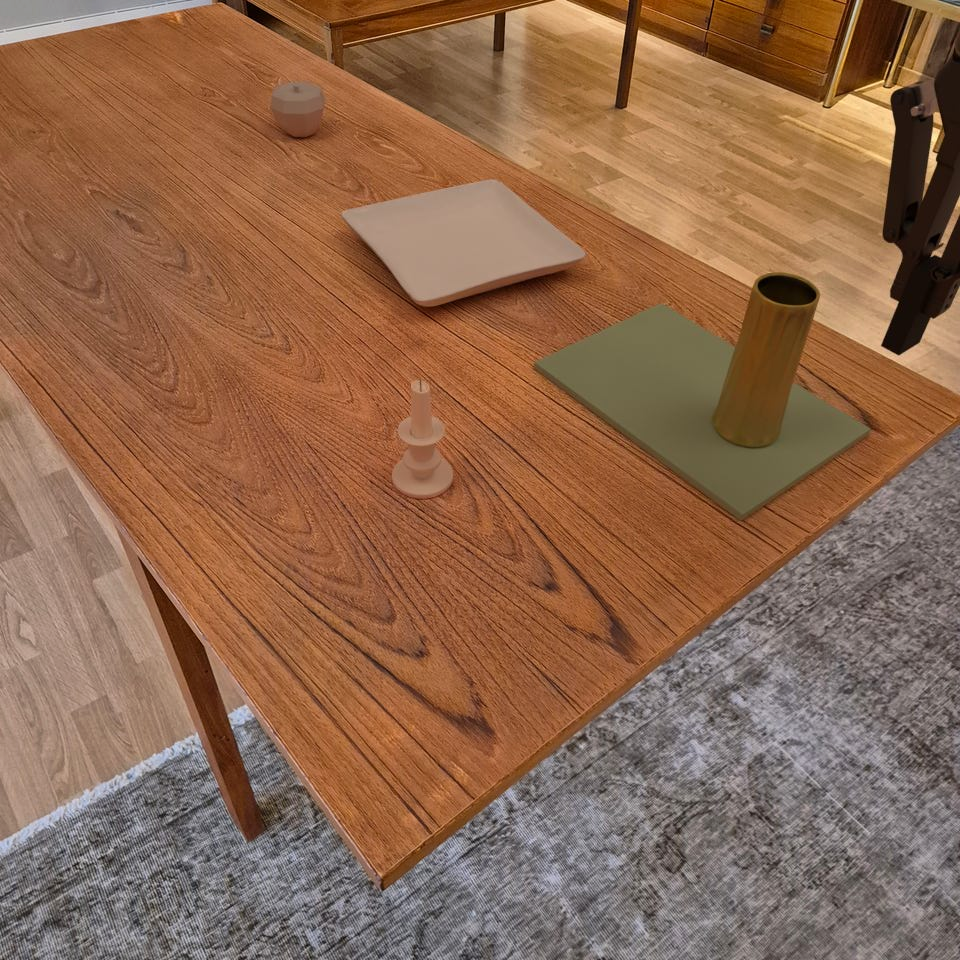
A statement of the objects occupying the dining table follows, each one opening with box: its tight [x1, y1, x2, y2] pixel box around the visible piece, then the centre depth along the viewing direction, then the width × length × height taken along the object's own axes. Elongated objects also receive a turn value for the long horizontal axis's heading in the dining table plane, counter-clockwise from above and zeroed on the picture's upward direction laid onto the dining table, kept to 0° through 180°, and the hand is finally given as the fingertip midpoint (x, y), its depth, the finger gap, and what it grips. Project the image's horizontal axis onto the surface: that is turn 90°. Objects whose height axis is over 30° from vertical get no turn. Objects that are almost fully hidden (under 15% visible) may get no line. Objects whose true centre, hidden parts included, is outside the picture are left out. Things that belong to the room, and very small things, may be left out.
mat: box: [533, 302, 872, 522], centre depth 84 cm, size 26×18×1 cm
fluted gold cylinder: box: [712, 271, 821, 447], centre depth 75 cm, size 6×6×14 cm
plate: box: [340, 178, 587, 308], centre depth 101 cm, size 21×21×3 cm
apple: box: [269, 81, 326, 138], centre depth 124 cm, size 8×8×7 cm
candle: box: [391, 379, 454, 500], centre depth 72 cm, size 5×5×10 cm
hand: (900, 344), depth 65 cm, fingers closed
